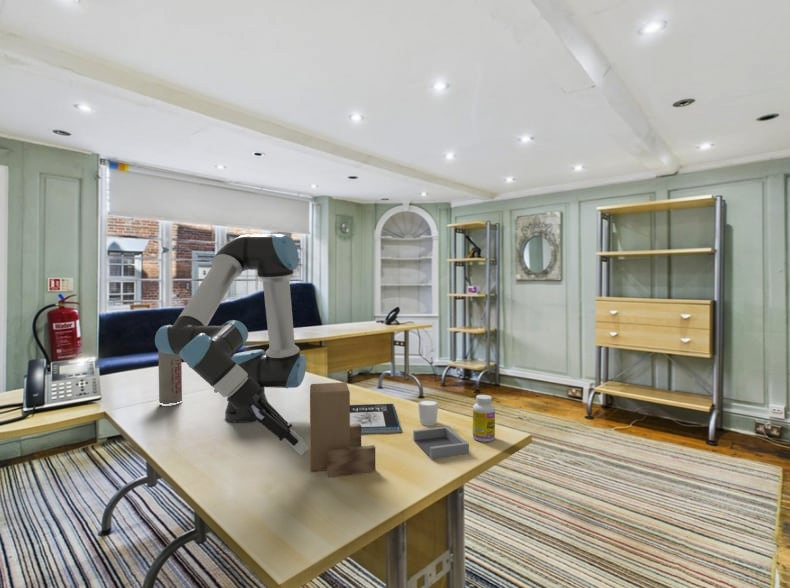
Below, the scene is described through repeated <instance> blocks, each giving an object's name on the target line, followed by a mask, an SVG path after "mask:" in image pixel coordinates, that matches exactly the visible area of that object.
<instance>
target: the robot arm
mask: <svg viewBox="0 0 790 588" xmlns="http://www.w3.org/2000/svg"><path fill="white" fill-rule="evenodd" d="M298 266H299V252H298V247H297V245H296V242H295V241H294V239H293V238H292V237H291V236H290V235H287V234H280V233H279V234H278V233H273V234H272V233H271V234H269V233H267V234H244V235H240V236H237V237H235V238H233V239H232V240H230V241H228V242H227V243H226V244H224V245H223V246H222V247H221V248H219V250H218V251H217V252H216V254H215V255H214V256H213V258H212V260H211V267H210V269H208V270H209V271H208V272H207V274H206V275H205V277H204V278H203V280H202V281H201V282H200V284H199V286H198V287H197V288H196V290H195V292H194V293H193V295H192V296H191V298H190V299H189V301H188V302H187V304H186V305H185V306H184V308H183V310H182V311H181V313H180V314H179V316H178V317H177V319H176V320H175V322H174V323H173V324H167V325H162V326H161V327H160V328H159V329H158V330H157V331H156V333H155V336H154V344H155V347H156V348H157V350H159V351H160V352H162V353H167V354H175V355H177V354H180V357H181V360H183V361H184V363H185V364H187V366H188V367H189V368H190V369H192V370H193V372H195V373H196V374H198V375H199V376H200V377H201V378H202V379H203V380H204V381H205V382H207V383H208V384H209V385H210V386H211V387H212V389H213V388H214V390H213V393H216V394H217V393H218V394H219V395H221V396H222V397H223V398H226V401H227V405H226V408H225V411H224V412H225V413H224V418H226V419H227V420H226V419H225V420H226V421H228V420H230V421H229V422H231V421H236V422H235V423H248V422H249V421H250V422H254V421H255V422H258V423H260V424H261V425H262V426H263V427H264V428H265V429H267V430H269V431H270V432H271V433H272V434H273V435H274V436H276V437H277V438H278V439H279V441H280V442H282V441H283V440H284V441H285V442H286V443H288V444H289V445H290V447H291V448H292V449H294V450H295V451H296V452H297V453H298V454H299V455H301V456H303V454H304V453H305V452H306V451H307V450H308V449H310V444H308V443H307V442H306V441H305V440H304V439H303V438H302V437H301V436H300V435H299V434H298V433H297V432H295V430H293V428H292V427H293V424H292V423H290V424H289V422H288V421H287V420H286V419H285V418H284V417H283V416H282V415H281V414H280V413H279V411H277V410H276V409H275V408H274V406H272V405H271V403H270V402H268V398H267V396H266V393H265V391H266V390H265V388H275V389H282V388H283V389H289V388H291V389H293V388H294V389H295V388H298V387H300V386H301V385H302V383H303V381H304V379H305V374H306V372H307V357H306V355H304V354H301V352H300V351H301V350H300V347H299V346H298V345H296V344H295V332H294V322H293V321H294V320H293V311H292V309H293V308H292V295H291V285H290V279H291V278H292V276H293V275H294V270H296V269H297V268H298ZM249 270H250V271H252V270H253V271H255V270H256V272H257V273H256V275H257V277H258V278H259V279H260V280H262V284H263V294H264V306H265V315H266V323H267V324H266V325H267V335H268V344H269V345H268V346H269V347H268V349H267V350H266V351H265V350H264V349H254V350H252V349H251V350H247V351H241V352H238V351H239V350H240V349H242V348H243V346H244V345H245V343H246V342H247V340H248V338H249V330H248V328H247V327H246V325H245V324H244V323H243V322H241V321H240V320H234V319H231V320H227V321H225V322H223V323H222V324H221V325H209V324H210V322H211V320H212V318H213V316H214V315H215V313H216V312H217V310H218V308H219V306H220V304H221V303H222V302H223V299H224V298H225V296H226V294H227V292H228V291H229V289H230V287H231V286H232V284H233V282H234V280H236V278H239V277H240V276H241V275H242V273H243V272H245V271H249Z"/></svg>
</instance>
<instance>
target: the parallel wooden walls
mask: <svg viewBox="0 0 790 588" xmlns="http://www.w3.org/2000/svg"><path fill="white" fill-rule="evenodd" d="M370 472H376V446H375V445H374V444H373V445H365V446H362V434H361V425H360V424H356V425H350V448H347V449H339V450H331V451H327V470H326V476H327V478H334V477H342V476H349V475H356V474H362V473H370Z"/></svg>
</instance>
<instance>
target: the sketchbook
mask: <svg viewBox="0 0 790 588" xmlns="http://www.w3.org/2000/svg"><path fill="white" fill-rule="evenodd" d="M356 424H360V425H361V435H363V434H364V435H369V434H372V435H374V434H375V435H376V434H390V433H394V434H399V433H401V432H402V427H401V424H400V421H399V417H398V414H397V411H396V408H395V405H394V403H376V404H375V403H374V404H373V403H371V404H366V403H365V404H350V425H356Z"/></svg>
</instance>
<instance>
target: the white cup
mask: <svg viewBox="0 0 790 588" xmlns="http://www.w3.org/2000/svg"><path fill="white" fill-rule="evenodd" d="M417 405H418V415H419V424H420V423H421V424H422V425H421V424H420V425H421V426H424V425H426V427H433V426H436V425H437V420H438V410H439V402H438V401H436V400H430V399H429V400H428V399H427V400H425V399H423V400H420V401H418V402H417Z"/></svg>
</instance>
